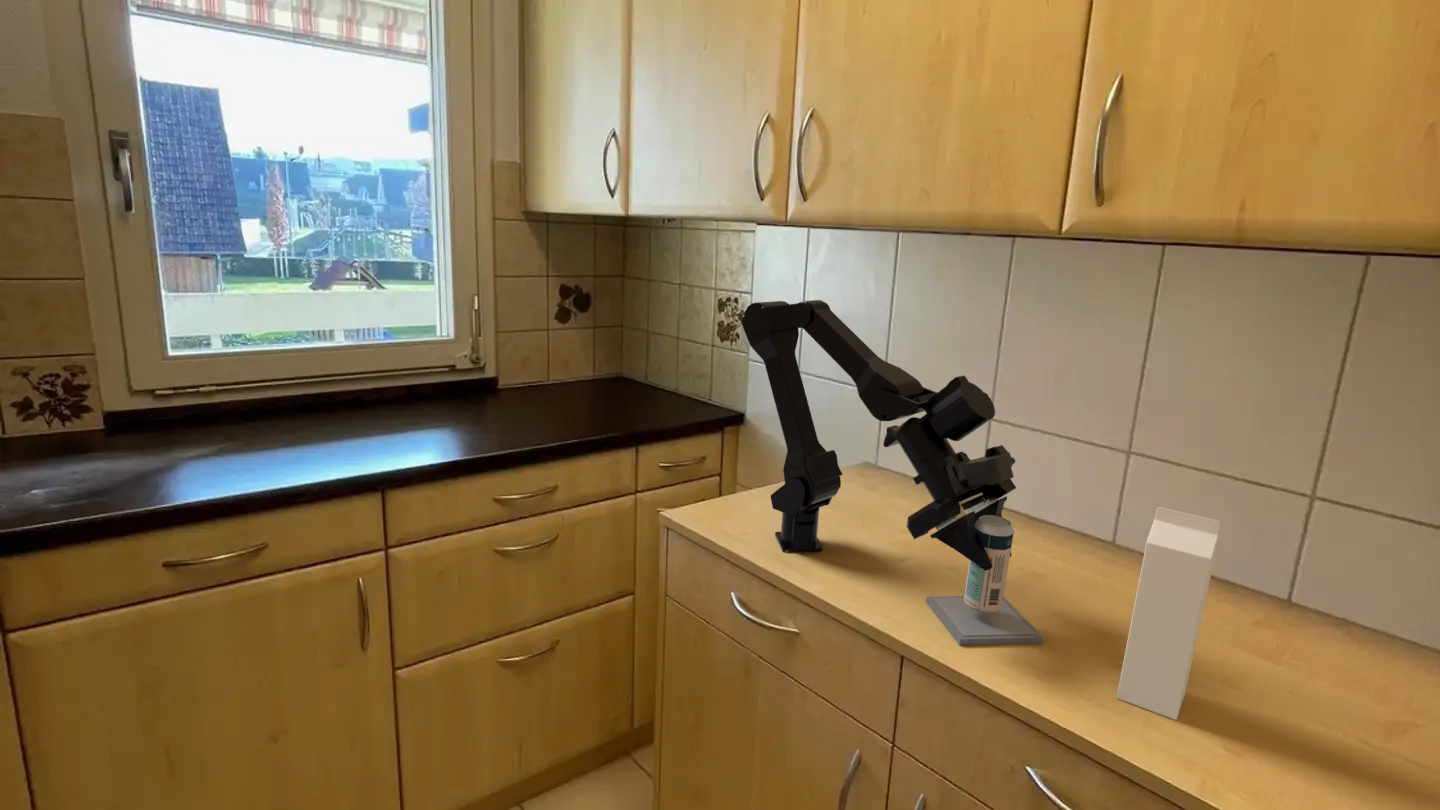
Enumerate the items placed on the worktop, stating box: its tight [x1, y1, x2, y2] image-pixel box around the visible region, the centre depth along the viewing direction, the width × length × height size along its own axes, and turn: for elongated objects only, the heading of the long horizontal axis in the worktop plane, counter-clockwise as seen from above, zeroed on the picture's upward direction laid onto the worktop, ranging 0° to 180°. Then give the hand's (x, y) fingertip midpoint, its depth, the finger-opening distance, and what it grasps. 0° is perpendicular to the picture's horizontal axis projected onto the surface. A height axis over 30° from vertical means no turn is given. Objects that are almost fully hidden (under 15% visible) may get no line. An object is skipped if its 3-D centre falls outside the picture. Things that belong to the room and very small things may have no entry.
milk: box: [1116, 506, 1221, 721], centre depth 84 cm, size 6×6×22 cm
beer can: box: [963, 515, 1015, 613], centre depth 100 cm, size 5×5×12 cm
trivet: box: [925, 595, 1044, 646], centre depth 102 cm, size 11×11×1 cm
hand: (999, 563), depth 99 cm, fingers closed on beer can, 5 cm apart
